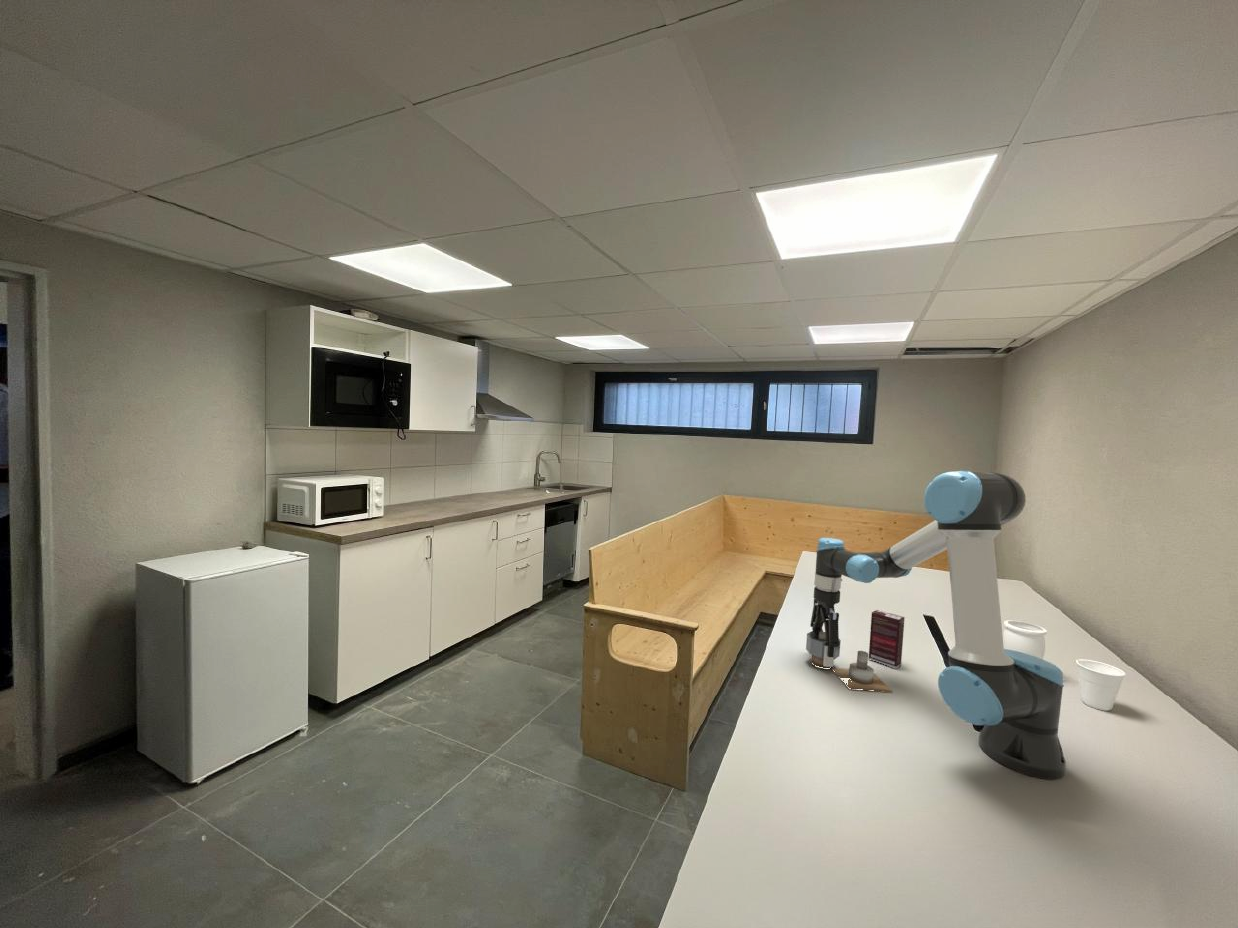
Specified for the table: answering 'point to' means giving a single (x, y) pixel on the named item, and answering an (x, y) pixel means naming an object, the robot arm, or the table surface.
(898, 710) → the table surface
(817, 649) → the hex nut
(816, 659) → the stand
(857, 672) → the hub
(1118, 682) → the cup
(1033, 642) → the jar
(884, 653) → the supplement box
